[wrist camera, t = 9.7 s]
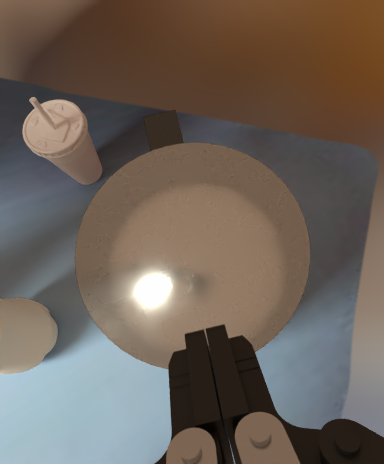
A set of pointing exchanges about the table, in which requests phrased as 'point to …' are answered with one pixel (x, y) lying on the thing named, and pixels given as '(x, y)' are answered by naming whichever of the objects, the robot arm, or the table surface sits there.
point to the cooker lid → (190, 247)
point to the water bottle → (24, 334)
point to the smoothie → (63, 139)
